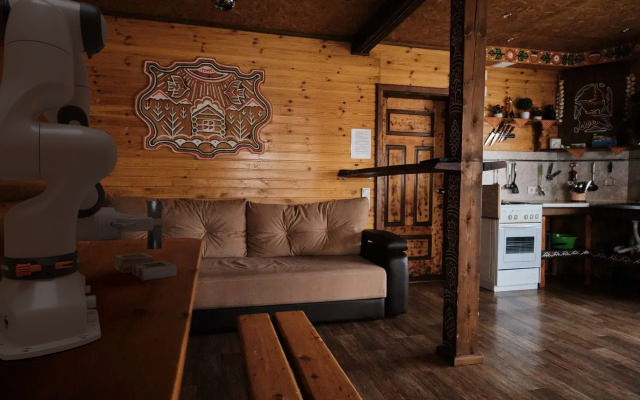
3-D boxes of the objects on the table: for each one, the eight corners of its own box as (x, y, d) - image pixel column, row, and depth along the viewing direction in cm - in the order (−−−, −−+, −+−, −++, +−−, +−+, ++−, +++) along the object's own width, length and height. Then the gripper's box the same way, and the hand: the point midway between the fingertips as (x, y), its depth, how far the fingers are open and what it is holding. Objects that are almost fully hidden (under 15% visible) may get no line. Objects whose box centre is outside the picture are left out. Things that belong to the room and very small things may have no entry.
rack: (153, 269, 122) (153, 256, 122) (122, 273, 116) (122, 260, 116) (143, 264, 129) (143, 252, 129) (114, 268, 123) (113, 255, 122)
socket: (176, 275, 115) (176, 265, 115) (143, 280, 108) (143, 270, 108) (164, 269, 122) (164, 260, 122) (131, 274, 115) (131, 264, 115)
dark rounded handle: (164, 248, 114) (164, 201, 114) (150, 249, 111) (150, 201, 111) (158, 246, 117) (158, 200, 117) (145, 248, 114) (145, 201, 114)
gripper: (117, 213, 98) (171, 211, 107) (96, 210, 112) (145, 209, 122) (117, 238, 98) (171, 234, 107) (96, 232, 113) (145, 229, 122)
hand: (157, 221), depth 115 cm, fingers closed on dark rounded handle, 4 cm apart
